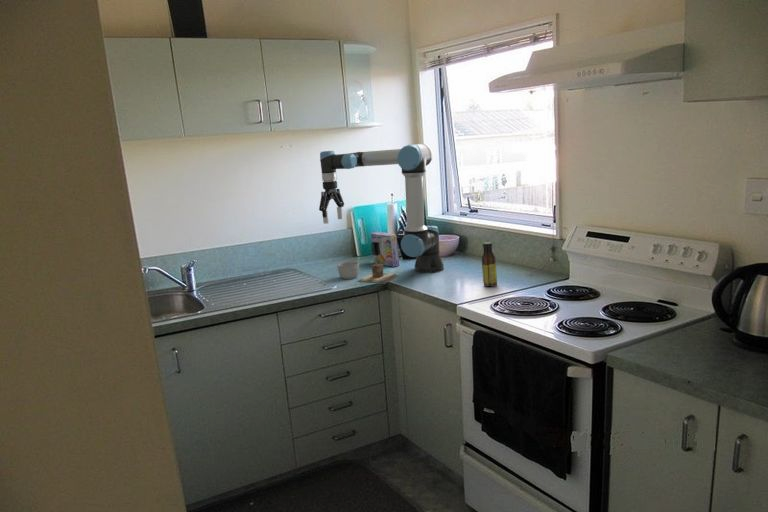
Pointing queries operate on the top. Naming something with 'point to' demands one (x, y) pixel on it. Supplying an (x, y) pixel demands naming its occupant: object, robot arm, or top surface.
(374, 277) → the lid
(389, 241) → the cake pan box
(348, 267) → the teacup
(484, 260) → the sauce bottle
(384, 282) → the mat
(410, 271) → the top surface
